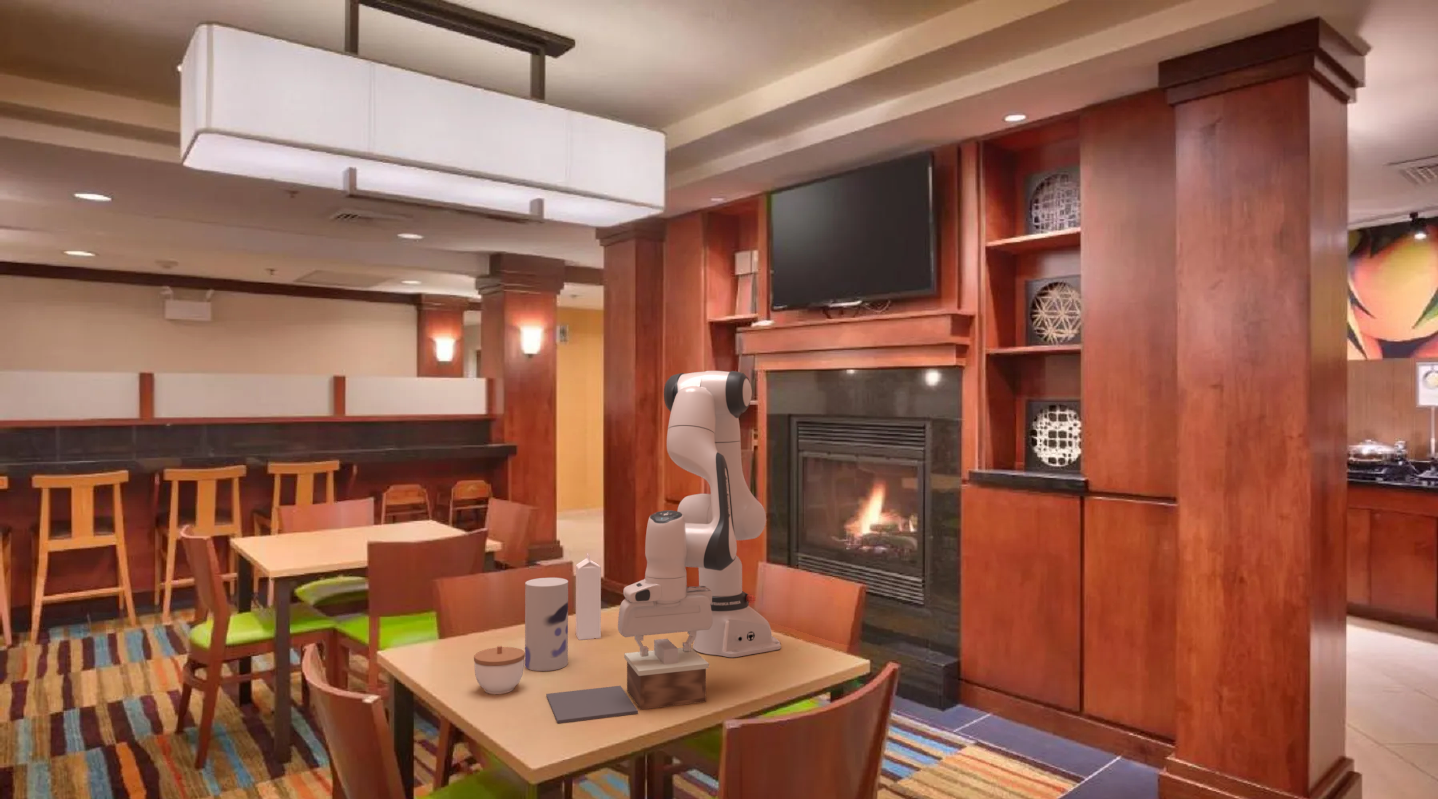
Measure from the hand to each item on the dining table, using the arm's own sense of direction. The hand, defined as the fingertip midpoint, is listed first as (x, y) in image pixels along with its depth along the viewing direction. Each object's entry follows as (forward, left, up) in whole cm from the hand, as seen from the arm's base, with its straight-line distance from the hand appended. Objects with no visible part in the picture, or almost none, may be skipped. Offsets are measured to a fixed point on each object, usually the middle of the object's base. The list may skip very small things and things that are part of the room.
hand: (665, 653), depth 176 cm
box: (0, 0, -9) cm, 9 cm away
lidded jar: (+33, -16, -9) cm, 38 cm away
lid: (0, 0, -3) cm, 3 cm away
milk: (+7, -52, -9) cm, 53 cm away
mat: (+16, 0, -9) cm, 18 cm away
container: (+21, -30, -9) cm, 38 cm away
